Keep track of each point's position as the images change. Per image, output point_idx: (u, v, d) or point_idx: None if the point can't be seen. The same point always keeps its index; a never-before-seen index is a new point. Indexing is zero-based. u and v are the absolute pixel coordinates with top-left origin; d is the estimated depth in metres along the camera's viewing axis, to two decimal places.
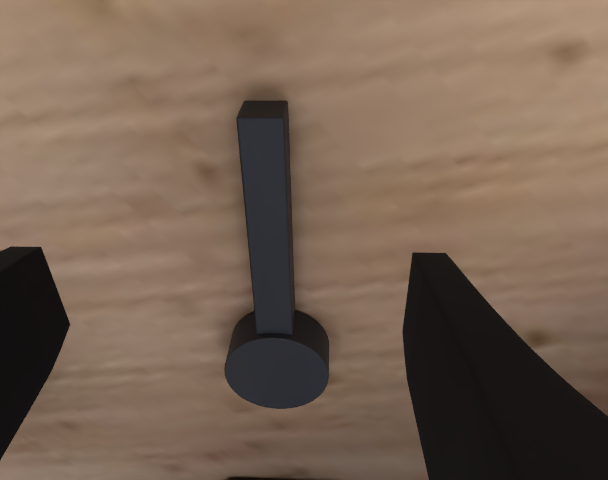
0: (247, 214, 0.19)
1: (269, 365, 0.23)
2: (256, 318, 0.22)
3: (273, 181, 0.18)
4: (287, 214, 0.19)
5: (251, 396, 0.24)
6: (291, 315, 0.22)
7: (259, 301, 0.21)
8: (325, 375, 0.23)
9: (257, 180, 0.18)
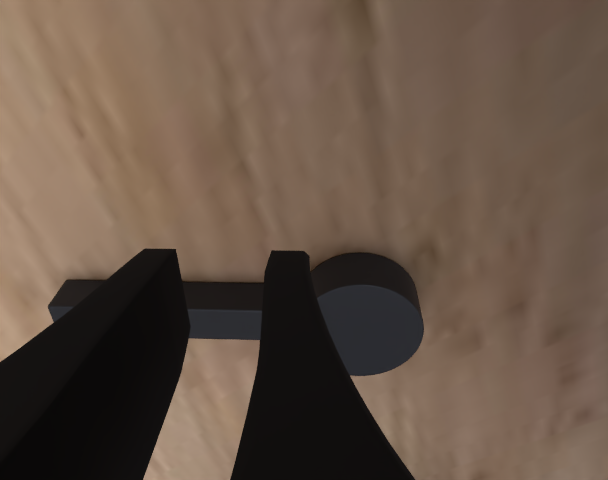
0: None
1: (341, 338, 0.19)
2: None
3: None
4: None
5: (397, 357, 0.20)
6: None
7: (252, 335, 0.20)
8: (360, 287, 0.18)
9: None
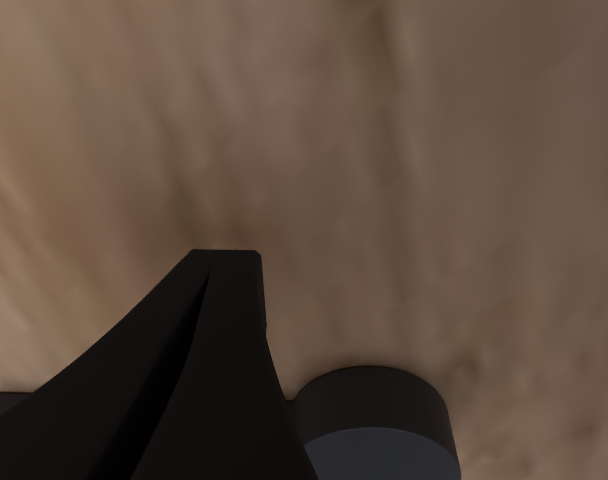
0: None
1: None
2: None
3: None
4: None
5: None
6: None
7: None
8: (373, 430, 0.13)
9: None
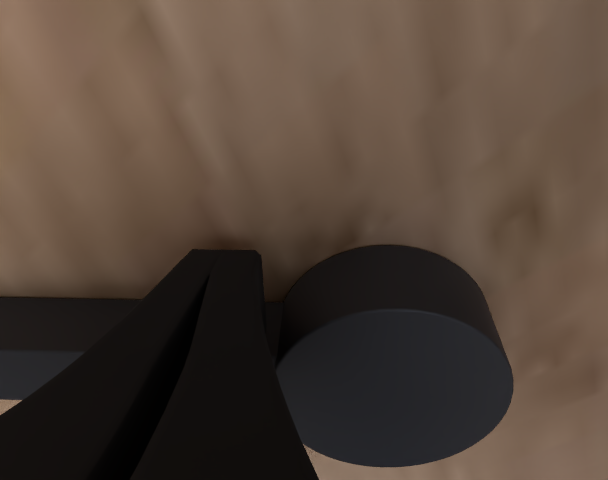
0: (1, 398, 0.11)
1: (353, 407, 0.10)
2: None
3: None
4: None
5: (456, 439, 0.11)
6: None
7: None
8: (394, 315, 0.09)
9: None
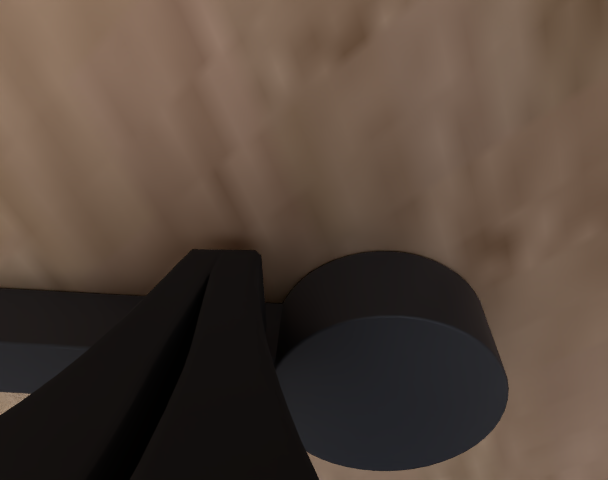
0: None
1: (349, 410, 0.10)
2: None
3: None
4: None
5: (449, 446, 0.11)
6: None
7: None
8: (396, 322, 0.09)
9: None
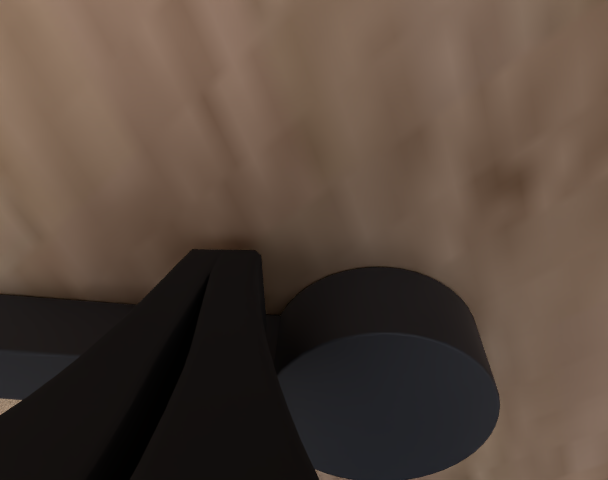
0: None
1: (344, 422, 0.11)
2: None
3: None
4: None
5: (440, 458, 0.11)
6: None
7: None
8: (393, 338, 0.09)
9: None
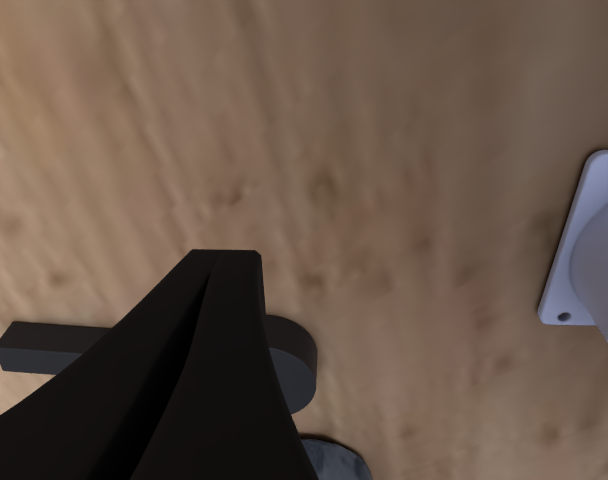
0: None
1: None
2: None
3: (46, 358, 0.23)
4: (76, 353, 0.23)
5: (295, 405, 0.23)
6: None
7: None
8: None
9: (49, 367, 0.23)
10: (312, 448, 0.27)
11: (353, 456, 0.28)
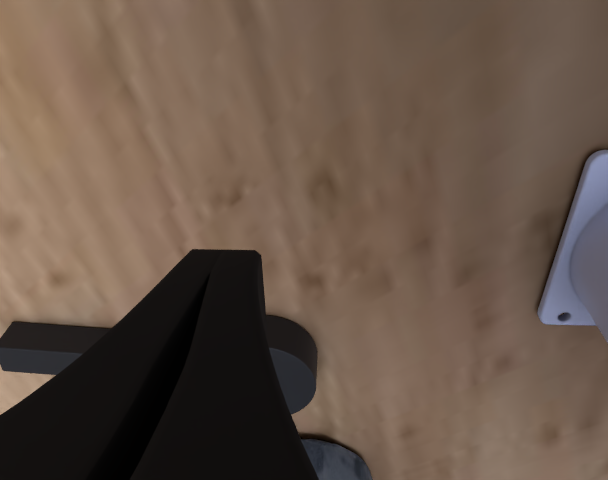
0: None
1: None
2: None
3: (46, 358, 0.23)
4: (76, 353, 0.23)
5: (295, 405, 0.23)
6: None
7: None
8: None
9: (49, 367, 0.23)
10: (312, 448, 0.27)
11: (353, 456, 0.28)
